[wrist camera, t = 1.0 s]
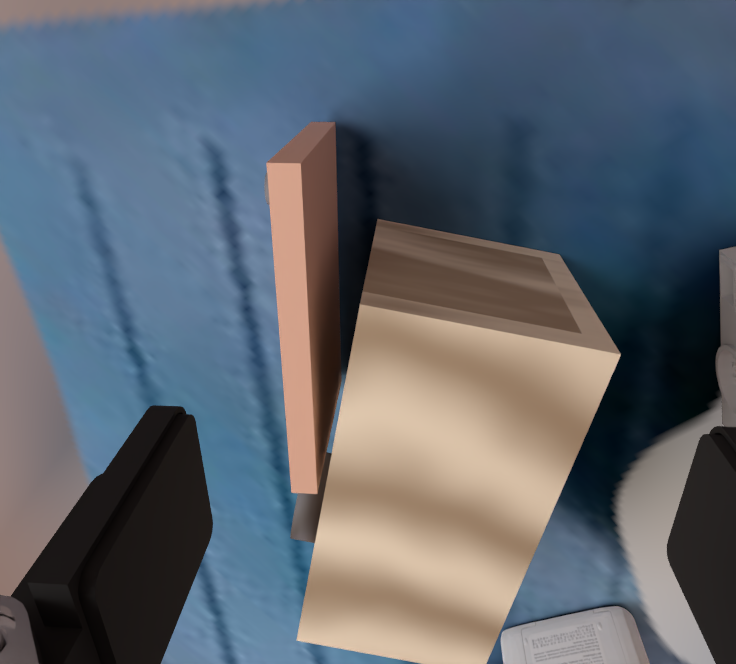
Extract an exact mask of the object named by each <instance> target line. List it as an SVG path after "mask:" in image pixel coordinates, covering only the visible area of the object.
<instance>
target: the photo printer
mask: <svg viewBox="0 0 736 664" xmlns="http://www.w3.org/2000/svg"><path fill="white" fill-rule="evenodd" d="M501 648H502V656H503V664H650V663H649V660H648V657H647V654H646V651H645V648H644V645H643V643H642V640H641V637H640V634H639V631H638V628H637V625H636V622H635V620H634V618H633V616H632V614H631V613H630V612H629V611H627V610H626V609H624V608H622V607H619V606H611V607H603V608H597V609H593V610H588V611H583V612H578V613H574V614H569V615H564V616H560V617H555V618H550V619H546V620H541V621H537V622H531V623H528V624H523V625H519V626H516V627H512V628H509V629H507V630H504V631H503V632H502V636H501Z"/></svg>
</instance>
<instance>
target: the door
mask: <svg viewBox="0 0 736 664" xmlns="http://www.w3.org/2000/svg"><path fill="white" fill-rule="evenodd" d="M265 198H266V202H267V204H269V205H270V215H271V228H272V241H273V254H274V268H275V281H276V294H277V307H278V320H279V333H280V347H281V360H282V373H283V386H284V399H285V412H286V426H287V439H288V452H289V465H290V478H291V491H292V493H306V494H317V493H318V488H319V484H320V479H321V474H322V470H323V465H324V460H325V456H326V451H327V446H328V442H329V437H330V432H331V428H332V423H333V418H334V414H335V409H336V404H337V400H338V395H339V390H340V386H341V341H340V298H339V254H338V211H337V167H336V124H335V122H311V123H310V124H308V125H307V126H306V127H305V128H304V129H303V130H302V131H301V132H300V133H299V134H298V135H296V136H295V137H294V138H293V139H292V140H291V141H290V142H289V143H288V144H287V145H286V146H284V147H283V148H282V149H281V150H280V151H279V152H278V153H277V154H276V155H275V156H274V157H272V158H271V159H270V160H269V161H268V162H267V173H266V176H265Z"/></svg>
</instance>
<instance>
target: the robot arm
mask: <svg viewBox="0 0 736 664" xmlns="http://www.w3.org/2000/svg"><path fill="white" fill-rule="evenodd" d="M212 528H213V520H212V514H211V508H210V502H209V496H208V490H207V485H206V479H205V473H204V467H203V462H202V456H201V450H200V444H199V439H198V433H197V427H196V421H195V418H194V416H193V415H188V414H186V411H185V409H184V408H183V407H180V406H150V408H149V409H148V410H147V411H146V412H145V414H144V415H143V417H142V418H141V420H140V421H139V423H138V424H137V425H136V427H135V428H134V430H133V431H132V433H131V434H130V435H129V437H128V438H127V440H126V441H125V443H124V444H123V446H122V447H121V448H120V450H119V451H118V453H117V454H116V456H115V457H114V459H113V460H112V461H111V463H110V464H109V466H108V467H107V469H106V470H105V471H104V473H103V474H101V475H99V476H97V477H96V478H95V479H94V480H93V481H92V482H91V483H90V485H89V486H88V488H87V489H86V490H85V492H84V493H83V495H82V496H81V498H80V499H79V500H78V502H77V503H76V505H75V506H74V507H73V509H72V510H71V512H70V513H69V515H68V516H67V517H66V519H65V520H64V522H63V523H62V524H61V526H60V527H59V529H58V530H57V532H56V533H55V534H54V536H53V537H52V539H51V540H50V541H49V543H48V544H47V546H46V547H45V549H44V550H43V551H42V553H41V554H40V555H39V557H38V558H37V560H36V561H35V563H34V564H33V566H32V567H31V568H30V570H29V571H28V572H27V574H26V575H25V577H24V578H23V580H22V581H21V582H20V584H19V585H18V587H17V588H16V589H15V591H14V592H13V594H12V595H11V596H3V595H0V664H161V661H162V659H163V656H164V654H165V651H166V649H167V646H168V644H169V641H170V639H171V636H172V634H173V631H174V629H175V626H176V624H177V621H178V619H179V616H180V614H181V611H182V609H183V606H184V604H185V601H186V599H187V596H188V594H189V591H190V589H191V586H192V584H193V581H194V579H195V576H196V574H197V571H198V569H199V566H200V564H201V561H202V559H203V556H204V554H205V551H206V549H207V546H208V544H209V541H210V538H211V534H212ZM667 556H668V560H669V563H670V566H671V568H672V570H673V572H674V574H675V577H676V579H677V581H678V583H679V585H680V587H681V589H682V592H683V593H684V596H685V598H686V600H687V602H688V604H689V607H690V609H691V611H692V613H693V615H694V617H695V620H696V622H697V624H698V626H699V628H700V630H701V632H702V634H703V637H704V639H705V641H706V643H707V645H708V648H709V650H710V652H711V654H712V656H713V658H714V661H715V663H716V664H736V427H723V426H722V427H721V426H717V427H714V428H713V429H712V430H711V431H710V434H704V435H703V436H702V437H701V438H700V440H699V443H698V446H697V449H696V453H695V456H694V459H693V462H692V465H691V469H690V472H689V475H688V478H687V481H686V485H685V488H684V491H683V494H682V497H681V501H680V504H679V507H678V510H677V513H676V517H675V520H674V523H673V527H672V529H671V533H670V536H669V539H668V544H667Z"/></svg>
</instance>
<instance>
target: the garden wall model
mask: <svg viewBox="0 0 736 664" xmlns="http://www.w3.org/2000/svg"><path fill="white" fill-rule="evenodd" d="M719 263H720V324H721V347H719V348H718V351H717V354H716V375H717V379H718V384H719V388H720V391H721V394H722V424H723V425H724V426H725V427H736V247H731V248H727V249H722V250H719Z"/></svg>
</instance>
